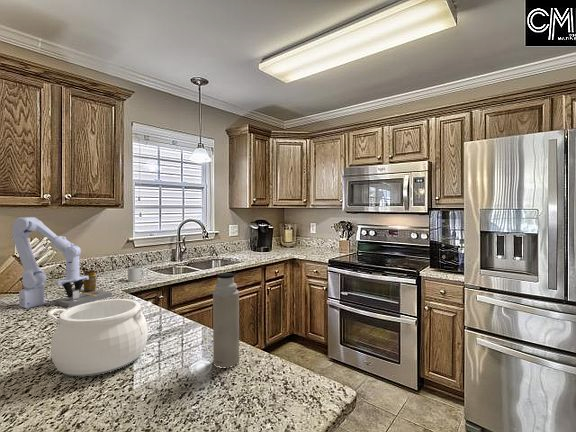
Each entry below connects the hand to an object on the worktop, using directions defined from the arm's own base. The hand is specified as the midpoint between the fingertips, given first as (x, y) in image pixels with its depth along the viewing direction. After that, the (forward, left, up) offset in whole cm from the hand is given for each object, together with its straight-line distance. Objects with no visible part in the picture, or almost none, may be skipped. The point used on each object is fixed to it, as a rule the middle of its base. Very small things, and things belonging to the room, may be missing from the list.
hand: (73, 296), depth 162 cm
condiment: (+17, +16, -4) cm, 24 cm away
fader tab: (0, 0, -1) cm, 1 cm away
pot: (-31, -73, -4) cm, 79 cm away
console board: (+5, 0, -3) cm, 6 cm away
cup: (+47, +15, -4) cm, 50 cm away
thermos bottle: (-14, -109, -4) cm, 110 cm away
